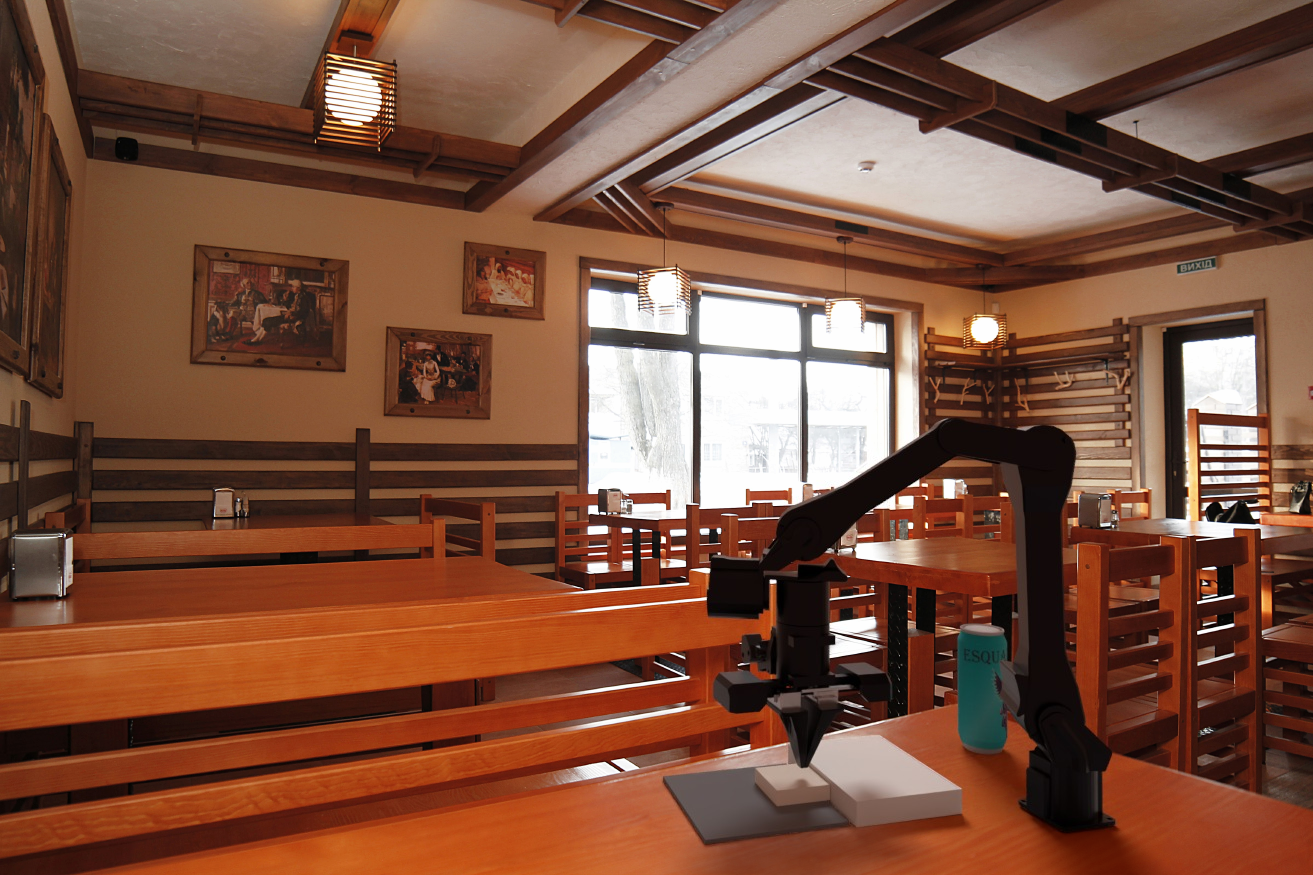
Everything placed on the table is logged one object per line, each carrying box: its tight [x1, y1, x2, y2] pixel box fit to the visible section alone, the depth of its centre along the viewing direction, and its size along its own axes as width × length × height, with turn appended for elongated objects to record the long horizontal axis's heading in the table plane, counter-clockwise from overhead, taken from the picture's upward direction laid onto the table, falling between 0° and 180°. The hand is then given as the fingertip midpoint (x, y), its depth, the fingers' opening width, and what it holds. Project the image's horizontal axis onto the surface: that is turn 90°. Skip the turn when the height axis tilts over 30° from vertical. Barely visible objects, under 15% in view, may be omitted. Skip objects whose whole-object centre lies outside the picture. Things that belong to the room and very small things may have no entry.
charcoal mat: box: [662, 763, 851, 845], centre depth 82 cm, size 15×15×1 cm
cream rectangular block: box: [755, 763, 830, 806], centre depth 84 cm, size 6×6×2 cm
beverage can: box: [957, 623, 1008, 756], centre depth 98 cm, size 6×6×15 cm
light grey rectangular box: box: [787, 734, 963, 828], centre depth 86 cm, size 12×16×2 cm
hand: (802, 766), depth 84 cm, fingers closed
